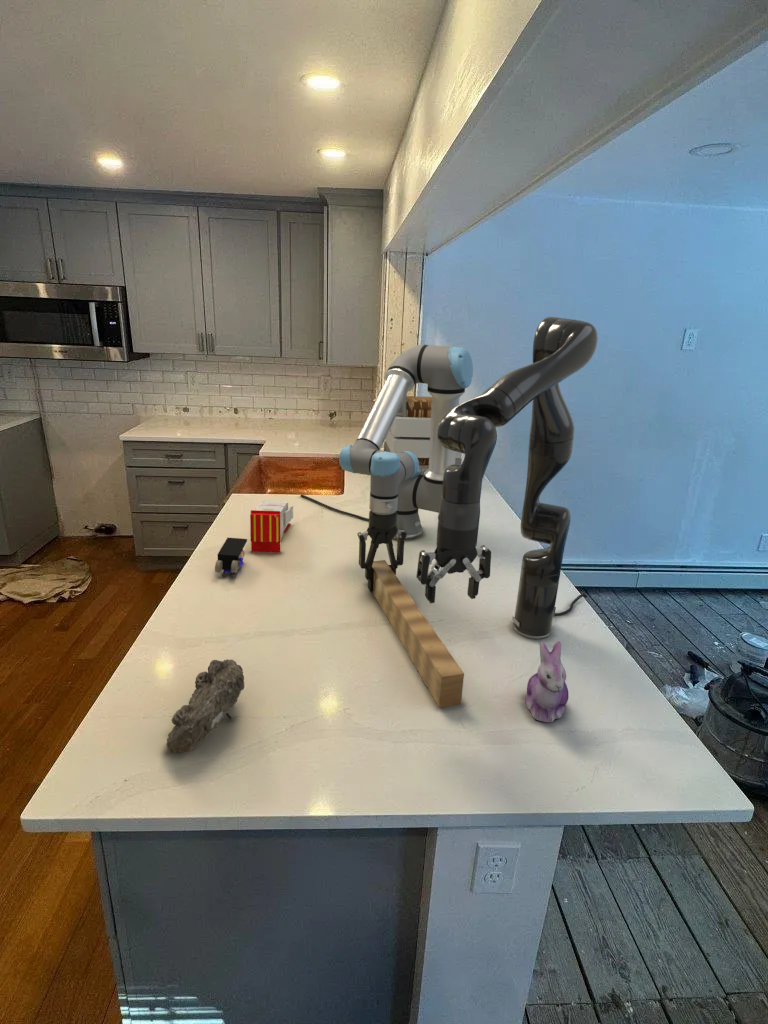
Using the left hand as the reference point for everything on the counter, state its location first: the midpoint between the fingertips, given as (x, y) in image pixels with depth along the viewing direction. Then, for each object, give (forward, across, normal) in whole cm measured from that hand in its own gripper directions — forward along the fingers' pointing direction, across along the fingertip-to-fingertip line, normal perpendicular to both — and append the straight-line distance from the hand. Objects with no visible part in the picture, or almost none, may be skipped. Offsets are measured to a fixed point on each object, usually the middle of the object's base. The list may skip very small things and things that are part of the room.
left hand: (379, 588), depth 159 cm
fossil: (+1, -46, -43) cm, 63 cm away
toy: (+1, -25, +45) cm, 51 cm away
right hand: (-22, 0, -47) cm, 51 cm away
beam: (+1, 0, -23) cm, 23 cm away
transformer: (+1, +53, +112) cm, 124 cm away
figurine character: (+1, -39, +21) cm, 45 cm away
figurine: (+1, +19, -56) cm, 59 cm away
